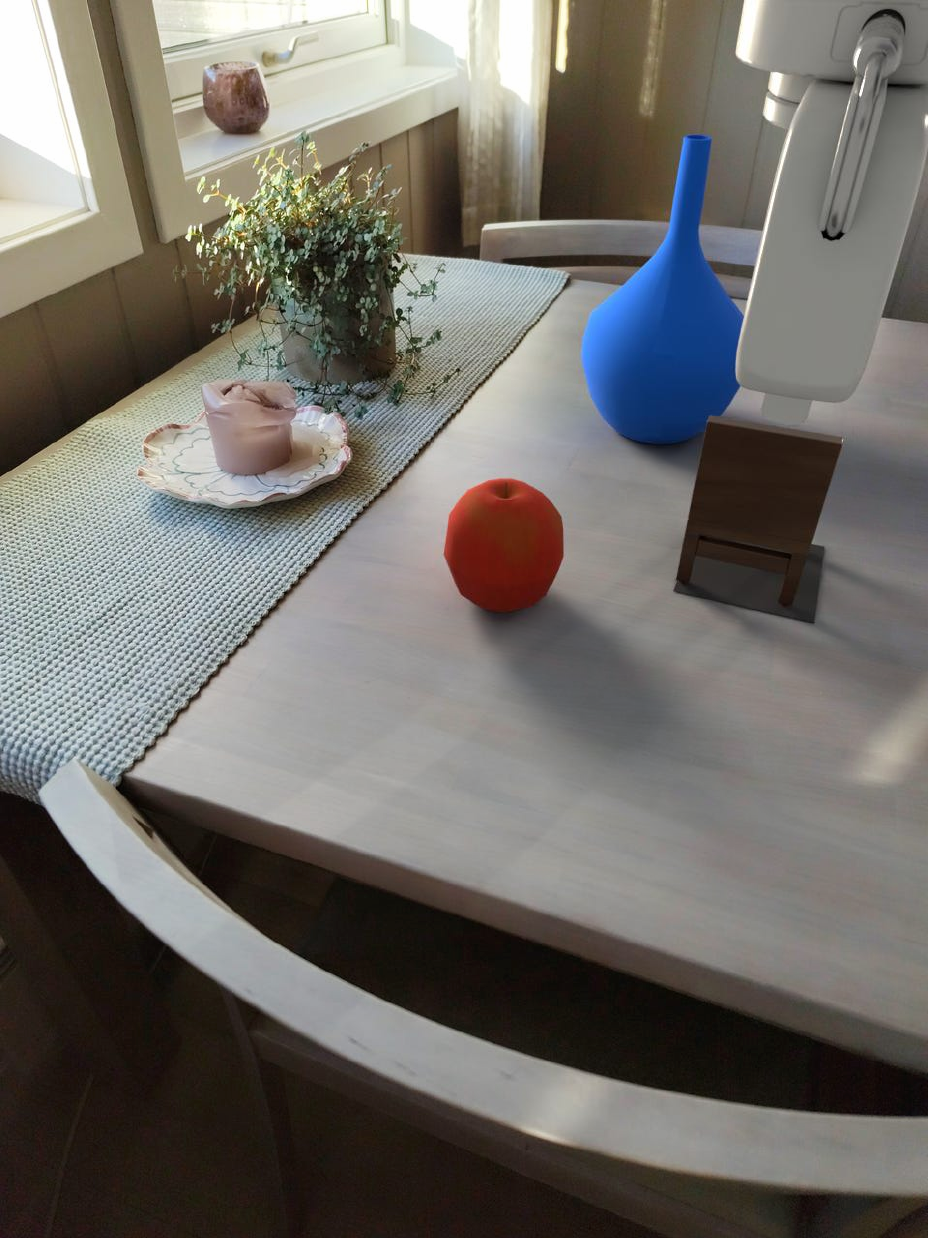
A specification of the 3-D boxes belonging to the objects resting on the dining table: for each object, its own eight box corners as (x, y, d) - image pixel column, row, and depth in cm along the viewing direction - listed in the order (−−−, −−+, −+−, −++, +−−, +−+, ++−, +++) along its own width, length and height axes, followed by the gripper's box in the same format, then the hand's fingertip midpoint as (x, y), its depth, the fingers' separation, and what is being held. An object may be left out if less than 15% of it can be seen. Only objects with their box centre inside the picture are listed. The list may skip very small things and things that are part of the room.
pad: (814, 623, 73) (814, 622, 73) (673, 591, 77) (673, 590, 77) (824, 547, 82) (824, 546, 82) (696, 521, 85) (697, 520, 85)
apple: (579, 616, 74) (592, 501, 67) (469, 644, 71) (470, 527, 64) (531, 552, 81) (537, 442, 74) (429, 574, 79) (426, 462, 71)
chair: (790, 610, 75) (842, 443, 64) (674, 584, 77) (706, 421, 67) (800, 547, 82) (849, 389, 71) (694, 526, 85) (726, 370, 74)
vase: (675, 380, 110) (719, 112, 91) (768, 444, 97) (842, 148, 78) (547, 406, 105) (566, 126, 85) (627, 477, 92) (670, 167, 73)
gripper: (1039, 45, 19) (854, 563, 28) (982, -22, 33) (873, 331, 42) (740, 33, 20) (657, 523, 29) (810, -26, 35) (741, 313, 44)
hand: (785, 408), depth 36 cm, fingers closed
